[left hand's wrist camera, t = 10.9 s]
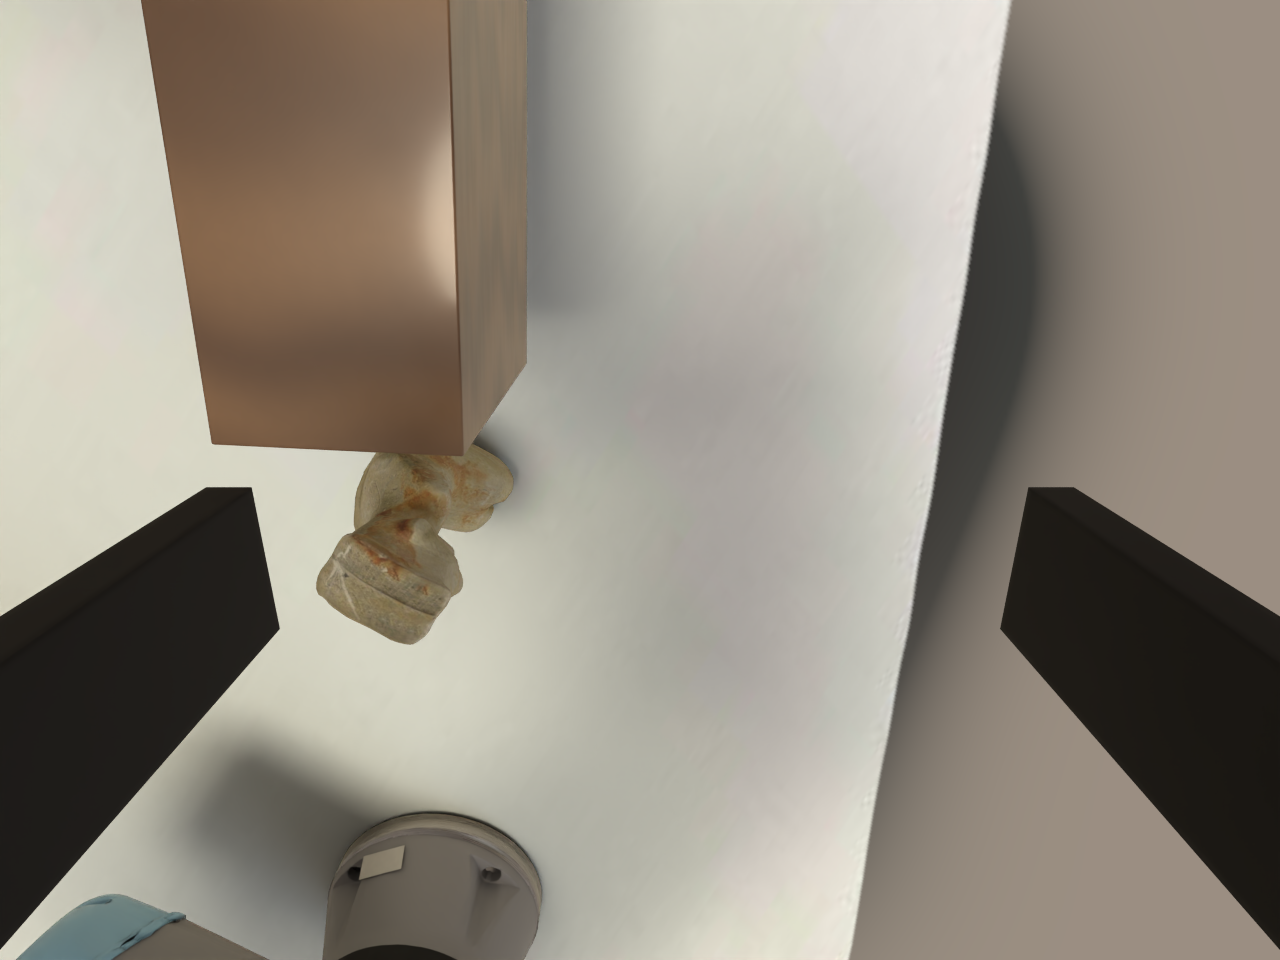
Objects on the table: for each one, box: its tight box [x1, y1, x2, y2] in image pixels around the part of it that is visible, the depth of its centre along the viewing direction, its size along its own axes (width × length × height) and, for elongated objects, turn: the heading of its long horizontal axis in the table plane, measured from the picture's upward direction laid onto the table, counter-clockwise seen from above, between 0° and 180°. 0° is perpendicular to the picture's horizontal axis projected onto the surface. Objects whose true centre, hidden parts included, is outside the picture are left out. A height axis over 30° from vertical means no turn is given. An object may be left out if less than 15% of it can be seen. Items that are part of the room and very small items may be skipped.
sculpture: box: [316, 444, 513, 645], centre depth 35 cm, size 6×7×15 cm
